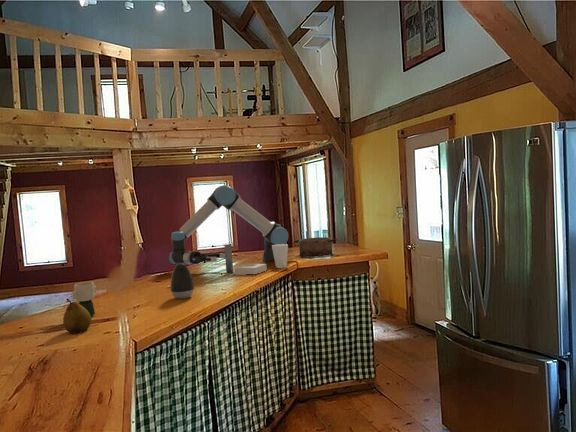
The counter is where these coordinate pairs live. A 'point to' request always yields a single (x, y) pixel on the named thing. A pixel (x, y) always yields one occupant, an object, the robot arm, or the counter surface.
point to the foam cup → (280, 255)
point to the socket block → (250, 269)
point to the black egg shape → (181, 282)
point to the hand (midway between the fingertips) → (222, 257)
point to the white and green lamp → (85, 295)
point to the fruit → (76, 318)
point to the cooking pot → (315, 246)
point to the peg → (228, 258)
